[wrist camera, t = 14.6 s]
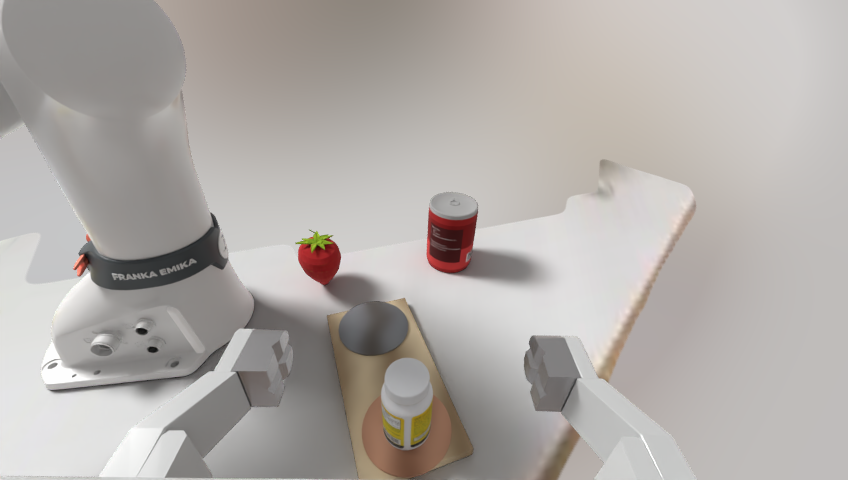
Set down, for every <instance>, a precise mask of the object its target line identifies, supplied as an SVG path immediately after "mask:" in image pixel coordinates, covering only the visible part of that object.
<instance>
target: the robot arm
mask: <svg viewBox="0 0 848 480" xmlns="http://www.w3.org/2000/svg"><path fill="white" fill-rule="evenodd" d="M185 73H186V59H185V52H184V48H183V45H182V42H181V39H180V37H179V34H178V32H177V30H176V28H175V27H174V25H173V23H172V22H171V20H170V19H169V17H168V16H167V15H166V13H165V12H164V11H163V10H162V9H161V7H160V6H159V5H158V4H157V3H156V2H155V1H154V0H0V139H2V138H3V137H5V136H7V135H9V134H10V133H12V132H14V131H15V130H17V129H19V128H21V127H22V126H24V125H26V126H27V128H28V130H29V132H30V134H31V135H32V137H33V139H34V141H35V143H36V144H37V146H38V148H39V150H40V152H41V153H42V155H43V157H44V159H45V161H46V163H47V164H48V166H49V168H50V170H51V172H52V174H53V176H54V178H55V180H56V182H57V183H58V185H59V187H60V188H61V190H62V192H63V194H64V195H65V197H66V198H67V200H68V202H69V204H70V205H71V207H72V209H73V210H74V212H75V214H76V216H77V217H78V219H79V221H80V222H81V224H82V226H83V227H84V229H85V231H86V232H87V235H86V239H87V241H88V243H86V244H85V245H84V246H83V248H82V249H81V250H80V252H79V256H80V258H79V259H78V260H77V262H76V264H75V265H74V268H73V269H74V270H76V269H77V268H78V269H77V275H78V276H81V275H82V274H83V272H84V271H85V269H86V268H88V270H89V271H90V272H89V273H88V274H87V275H86V276H85V277H83V278H82V279H81V280H80V281H79V282H78V283H77V284H76V285H75V286H74V287H73V288H72V289H71V290H70V291H69V292H68V294H67V295H66V296H65V297H64V299H63V300H62V302H61V303H60V305H59V307H58V308H57V310H56V312H55V315H54V317H53V320H52V324H51V337H52V342H51V343H50V345H49V347H48V349H47V351H46V353H45V356H44V358H43V361H42V365H41V378H42V380H43V382H44V384H45V385H46V387H47V388H48V389H49V390H58V389H68V388H77V387H87V386H96V385H105V384H115V383H124V382H134V381H143V380H152V379H162V378H171V377H181V376H186V375H189V374H191V373H193V372H194V371H196V370H197V369H198V368H199V367H200V366H201V365H202V364H203V363H204V361H205V360H206V359H207V358H208V357H209V356H210V355H211V354H212V353H213V352H214V351H216V350H217V349H219V348H220V347H222V346H223V345H225V344H226V343H228V342H229V341H230V340H231V341H230V343H229V344H228V346H227V348H226V350H225V352H224V354H223V355H222V357H221V359H220V361H219V363H218V364H217V366H216V368H215V370H214V371H209V372H207V373H206V374H205V375H203V376H202V377H200V378H199V379H198V380H196V381H195V382H194V383H192V384H191V385H190V386H188V387H187V388H185V389H184V390H183V391H181V392H180V393H179V394H177V395H176V396H174V397H173V398H172V399H170V400H169V401H168V402H166V403H165V404H163V405H162V406H161V407H159V408H158V409H157V410H155V411H154V412H152V413H151V414H150V415H148V416H147V417H146V418H144V419H143V420H141V421H140V422H139V423H137V424H136V425H135V426H133V427H132V428H131V429H130V430H129V432H128V433H127V435H126V436H125V438H124V439H123V441H122V442H121V444H120V445H119V447H118V448H117V450H116V451H115V452H114V454H113V455H112V457H111V458H110V460H109V461H108V463H107V464H106V466H105V467H104V469H103V470H102V472H101V473H100V475H99V476H98V477H48V476H0V480H366V479H251V478H212V474H211V471H210V470H209V468H208V466H207V465H206V463H205V462H204V460H203V458H204V457H205V456H206V455H207V454H208V453H209V452H210V451H211V450H212V449H213V447H214V446H215V445H216V444H217V443H218V442H219V441H220V440H221V439H222V438H223V437H224V436H225V435H226V434H227V433H228V432H229V431H230V430H231V429H232V428H233V427H234V426H235V425H236V424H237V423H238V422H239V421H240V420H241V419H242V417H243V416H244V415H245V414H246V413H247V412H248V411H249V410H250V409H251V407H278V406H279V403H280V400H281V397H282V394H283V391H284V389H285V386H284V383H283V380H284V379H285V378H286V377H288V376H289V374H290V371H291V368H292V362H293V350H292V346H290V345H289V344H288V340H289V334H288V331H285V330H266V329H243V328H244V327H245V326H246V325H247V323H248V322H249V320H250V318H251V316H252V314H253V311H254V299H253V296H252V295H251V293H250V292H249V291H248V290H247V289H246V288H245V286H244V285H243V284H242V282H241V281H240V279H239V278H238V276H237V274H236V273H235V271H234V269H233V267H232V266H231V264H230V262H229V260H228V249H227V245H226V242H225V239H224V236H223V233H222V230H221V229H220V227H219V225H218V222H217V220H216V218H215V216H214V215H213V214H212V213H211V212H210V211H209V208H208V206H207V202H206V200H205V196H204V194H203V191H202V188H201V185H200V182H199V179H198V176H197V173H196V170H195V167H194V164H193V160H192V156H191V151H190V146H189V140H188V131H187V123H186V114H185V107H184V100H183V93H182V86H183V83H184V80H185ZM529 345H530V349H529V350H528V351H526V354H525V357H524V369H525V375H526V378H527V380H528V381H529V382H530V383H531V384H532V388H531V391H530V393H531V396H532V400H533V403H534V407H535V410H536V411H554V412H561V414H562V415H563V416H564V417H565V418H566V419H567V421H568V422H569V423H570V424H571V425H572V426H573V428H574V429H575V430H576V431H577V432H578V433H579V435H580V436H581V437H582V438H583V439H584V441H586V443H587V444H588V445H589V446H590V447H591V449H592V450H593V451H594V452H595V453H596V455H597V456H598V457H599V458H600V459H601V460H602V462H603V463H604V464H603V466H602V467H601V469H600V470H599V472H598V473H597V475H596V476H595V478H594V480H697V478H696V477H695V475H694V473H693V472H692V470H691V468H690V466H689V465H688V463H687V461H686V459H685V457H684V456H683V454H682V452H681V450H680V449H679V447H678V445H677V443H676V442H675V440H674V438H673V437H672V436H671V435H670V434H669V433H668V432H667V431H665V430H664V429H663V428H662V427H661V426H659V425H658V424H657V423H656V422H654V421H653V420H652V419H651V418H650V417H648V416H647V415H646V414H645V413H644V412H643V411H641V410H640V409H639V408H638V407H637V406H635V405H634V404H633V403H632V402H630V401H629V400H628V399H627V398H626V397H624V396H623V395H622V394H621V393H620V392H618V391H617V390H616V389H615V388H614V387H612V386H611V385H610V384H609V383H608V382H606V381H605V380H604V379H599V378H598V376H597V374H596V372H595V370H594V368H593V365H592V363H591V361H590V359H589V357H588V355H587V353H586V351H585V349H584V347H583V344H582V342H581V340H580V339H579V338H578V337H577V336H532V337H531V338H530V341H529ZM176 365H177V366H176ZM174 366H176V367H174Z"/></svg>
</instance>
